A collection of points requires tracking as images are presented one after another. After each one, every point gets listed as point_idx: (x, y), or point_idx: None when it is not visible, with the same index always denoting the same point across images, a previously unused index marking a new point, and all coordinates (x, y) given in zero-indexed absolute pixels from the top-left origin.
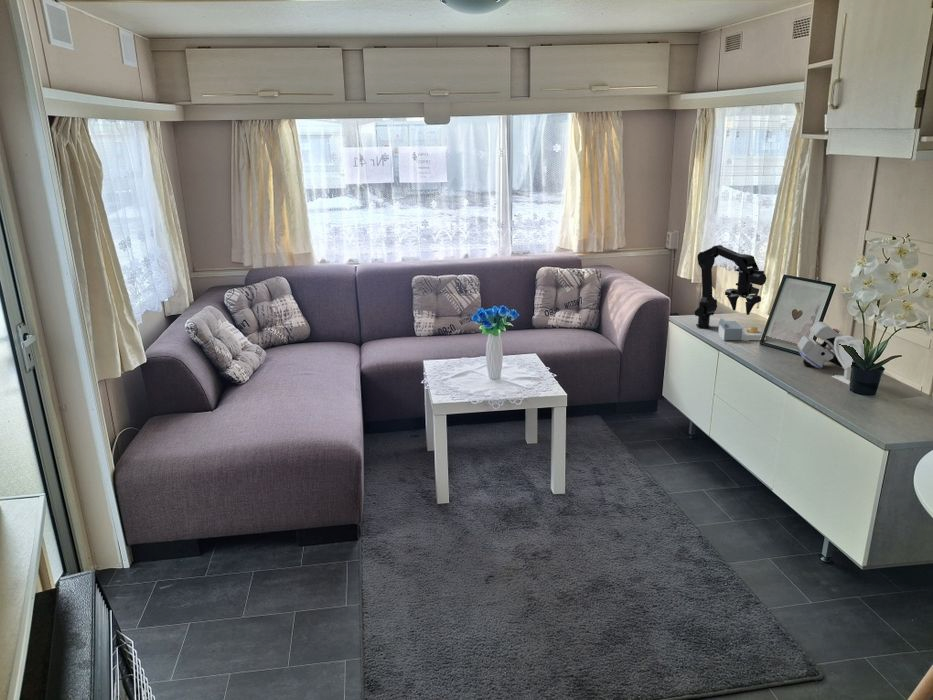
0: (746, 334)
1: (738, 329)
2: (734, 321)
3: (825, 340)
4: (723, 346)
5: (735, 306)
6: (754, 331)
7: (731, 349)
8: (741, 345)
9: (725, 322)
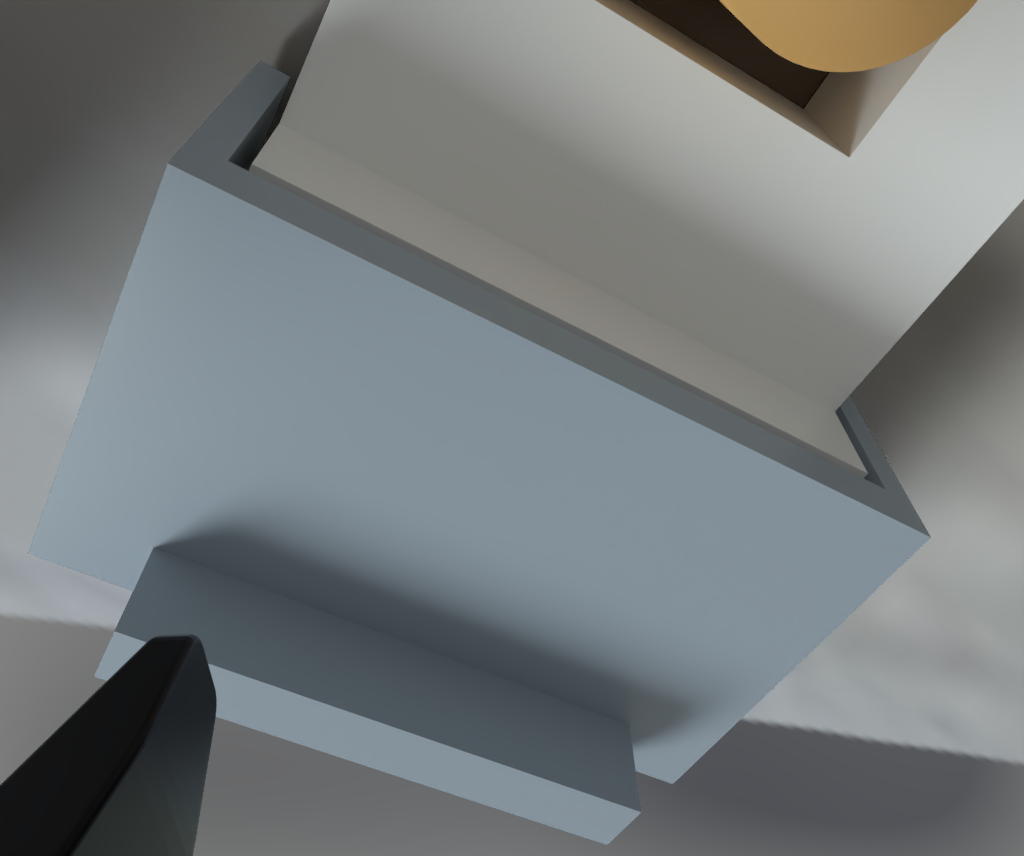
0: (894, 288)
1: (859, 585)
2: (190, 221)
3: None
4: (833, 721)
5: (129, 823)
6: None
7: (1006, 719)
8: (994, 504)
9: (537, 790)
